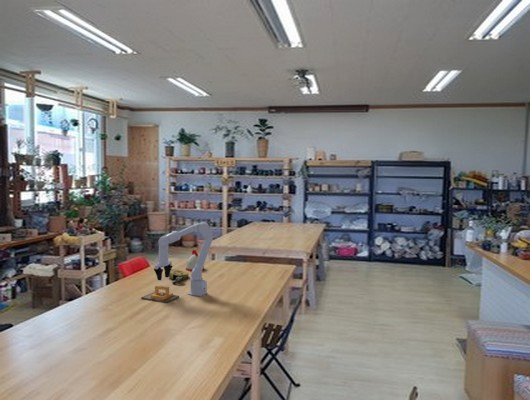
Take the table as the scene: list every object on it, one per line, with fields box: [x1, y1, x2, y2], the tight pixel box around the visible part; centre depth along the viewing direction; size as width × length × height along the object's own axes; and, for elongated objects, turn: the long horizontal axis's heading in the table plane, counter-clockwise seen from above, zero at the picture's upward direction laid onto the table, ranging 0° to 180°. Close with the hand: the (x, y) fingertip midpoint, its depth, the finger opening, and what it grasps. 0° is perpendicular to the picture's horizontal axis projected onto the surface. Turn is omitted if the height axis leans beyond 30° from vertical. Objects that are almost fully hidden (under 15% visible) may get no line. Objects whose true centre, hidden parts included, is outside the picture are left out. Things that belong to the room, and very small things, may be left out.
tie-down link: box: [151, 285, 174, 300], centre depth 235 cm, size 9×9×6 cm
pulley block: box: [168, 269, 189, 285], centre depth 280 cm, size 14×6×30 cm
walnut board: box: [140, 291, 180, 304], centre depth 236 cm, size 18×12×1 cm, turn 68°
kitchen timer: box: [185, 249, 205, 272], centre depth 313 cm, size 14×14×15 cm
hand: (163, 278), depth 243 cm, fingers open, 7 cm apart
